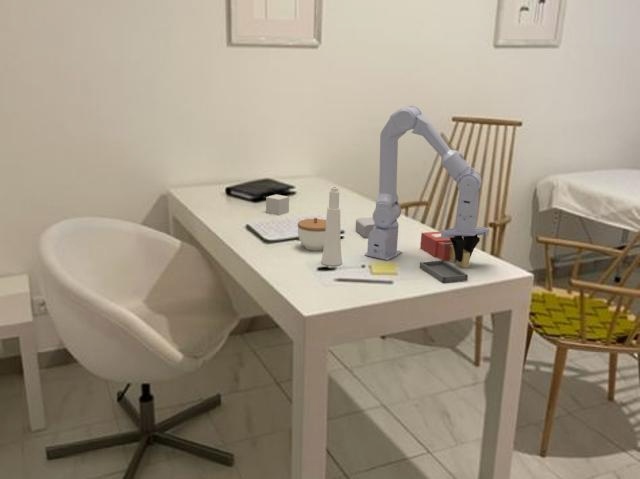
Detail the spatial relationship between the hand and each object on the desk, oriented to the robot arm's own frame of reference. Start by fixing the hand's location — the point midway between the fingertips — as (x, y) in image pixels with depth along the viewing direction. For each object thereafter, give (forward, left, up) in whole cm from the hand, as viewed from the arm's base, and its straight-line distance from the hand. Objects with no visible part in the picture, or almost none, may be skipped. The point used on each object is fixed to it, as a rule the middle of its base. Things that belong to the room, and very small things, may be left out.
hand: (462, 260), depth 189 cm
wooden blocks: (+2, +2, -1) cm, 3 cm away
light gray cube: (+14, +78, -2) cm, 79 cm away
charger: (+14, +39, -2) cm, 41 cm away
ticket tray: (-11, +1, -1) cm, 11 cm away
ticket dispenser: (+7, +9, -1) cm, 11 cm away
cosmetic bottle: (-22, +31, -2) cm, 38 cm away
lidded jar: (-13, +43, -2) cm, 45 cm away
